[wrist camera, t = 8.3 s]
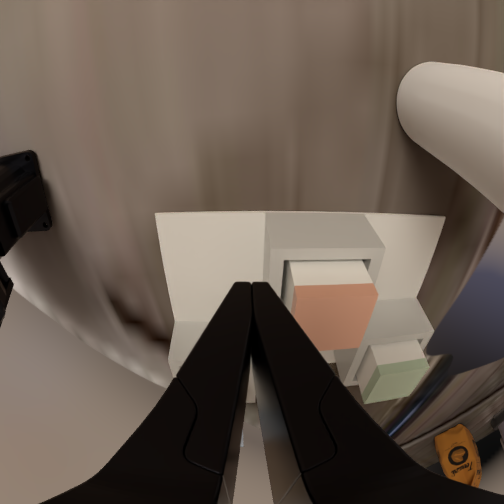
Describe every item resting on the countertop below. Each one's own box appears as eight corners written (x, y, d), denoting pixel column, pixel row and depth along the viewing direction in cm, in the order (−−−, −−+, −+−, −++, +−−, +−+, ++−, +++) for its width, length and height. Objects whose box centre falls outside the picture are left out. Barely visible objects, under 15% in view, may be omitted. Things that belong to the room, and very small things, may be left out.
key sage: (349, 350, 29) (364, 404, 24) (360, 318, 26) (380, 375, 21) (390, 345, 29) (408, 395, 24) (405, 314, 26) (429, 367, 21)
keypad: (185, 364, 31) (181, 401, 27) (155, 212, 21) (138, 249, 17) (387, 355, 32) (399, 387, 28) (444, 216, 22) (473, 247, 18)
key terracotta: (279, 286, 24) (288, 352, 19) (283, 234, 21) (296, 298, 16) (337, 285, 24) (359, 347, 19) (348, 234, 21) (378, 294, 16)
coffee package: (467, 417, 51) (493, 495, 33) (469, 427, 57) (491, 495, 39) (430, 437, 55) (451, 516, 36) (436, 445, 60) (455, 513, 42)
